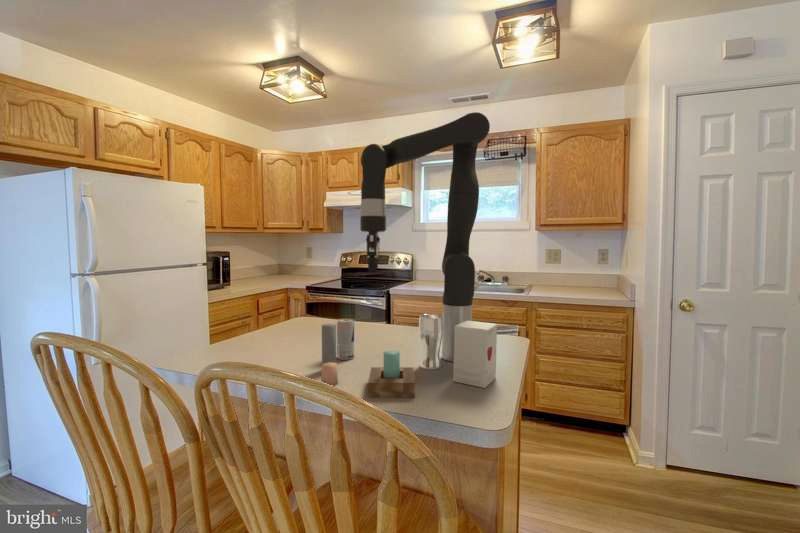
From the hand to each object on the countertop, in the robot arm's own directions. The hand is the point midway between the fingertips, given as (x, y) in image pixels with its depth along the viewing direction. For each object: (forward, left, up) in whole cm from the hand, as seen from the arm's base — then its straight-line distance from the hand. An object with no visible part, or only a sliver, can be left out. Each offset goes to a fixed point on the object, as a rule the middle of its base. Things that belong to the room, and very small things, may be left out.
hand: (373, 270), depth 113 cm
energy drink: (+9, -5, -28) cm, 30 cm away
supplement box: (-28, +14, -28) cm, 42 cm away
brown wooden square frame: (-6, +20, -28) cm, 35 cm away
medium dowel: (-6, +20, -28) cm, 35 cm away
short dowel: (+10, +17, -28) cm, 34 cm away
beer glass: (-17, +3, -28) cm, 33 cm away
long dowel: (+12, +7, -28) cm, 31 cm away
